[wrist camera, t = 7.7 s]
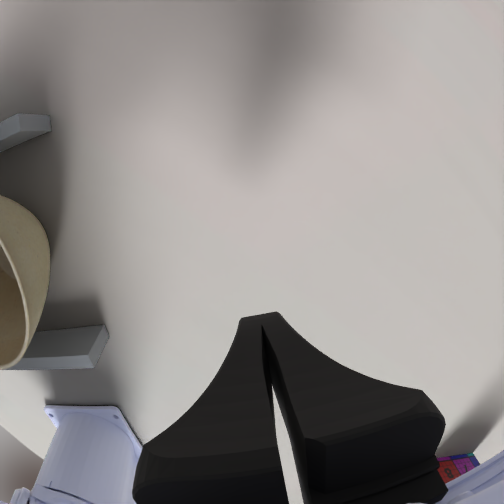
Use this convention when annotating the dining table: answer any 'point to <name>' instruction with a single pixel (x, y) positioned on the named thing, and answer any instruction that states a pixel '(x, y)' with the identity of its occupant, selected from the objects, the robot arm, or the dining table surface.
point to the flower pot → (20, 279)
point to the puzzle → (456, 466)
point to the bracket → (64, 340)
